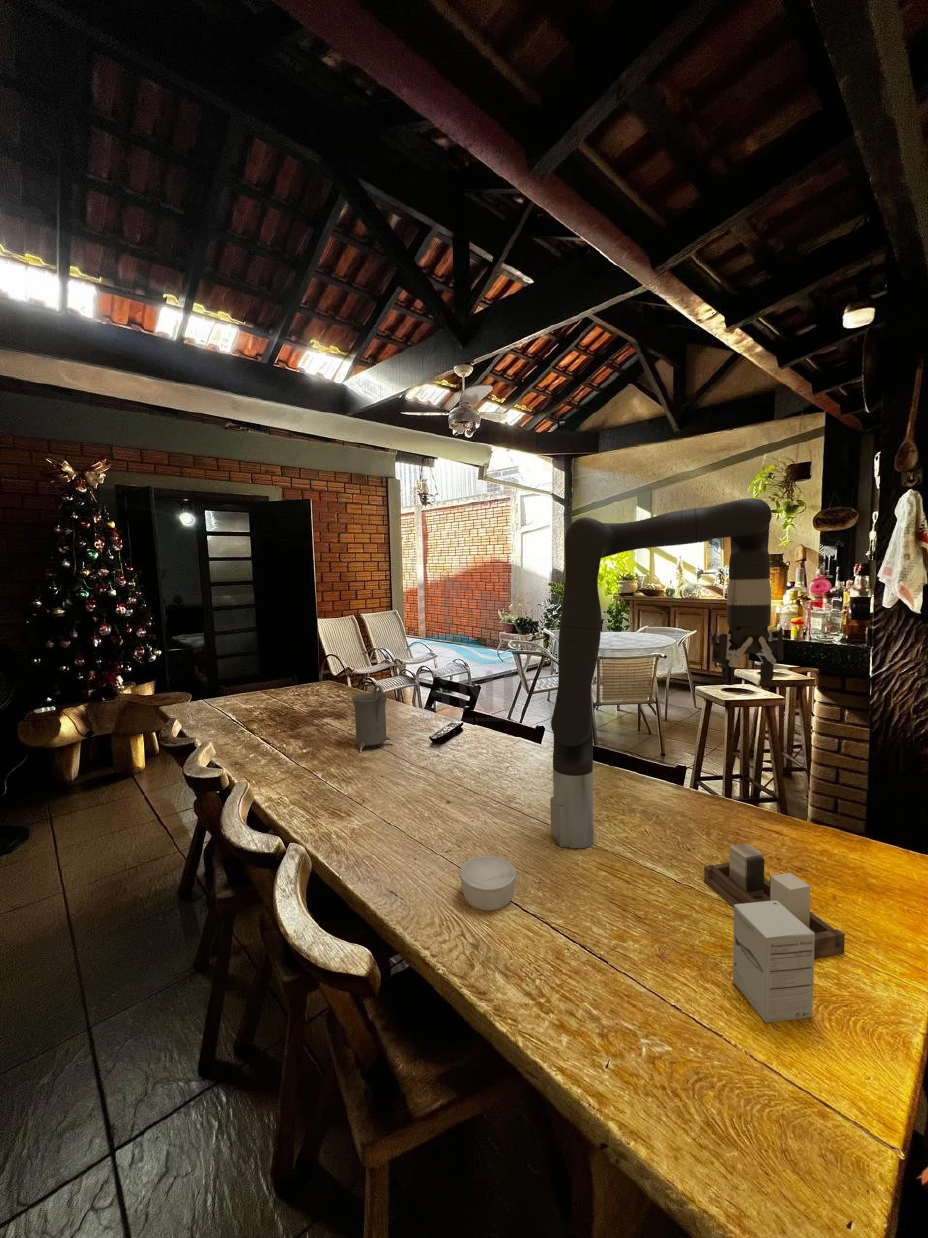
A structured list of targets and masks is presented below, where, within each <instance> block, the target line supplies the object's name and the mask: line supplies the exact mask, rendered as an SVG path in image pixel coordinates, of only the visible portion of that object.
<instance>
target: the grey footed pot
mask: <svg viewBox="0 0 928 1238" xmlns="http://www.w3.org/2000/svg"><path fill="white" fill-rule="evenodd" d="M377 689H378V690H379V692H377ZM388 697H389V696H388V695H387V694H385V693H384V690H383V688H382V687H381V685H379V684H376V685H375V686H374V688H373V692H367V693H360V694H355V695H353V696H351V701H352V703H353V705H354V721H355V724H354V725H355V742H356V744H358V745H359V747H364V746H365V747H366V746H376V745H381V744H383V743H385V742H386V740H391V741H392V739H391V738H390V737H389V736H387V722H386V721H387V718H386V704H387V703H386V702H387V699H388ZM365 747H364V748H365Z"/></svg>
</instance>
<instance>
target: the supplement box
mask: <svg viewBox="0 0 928 1238" xmlns="http://www.w3.org/2000/svg"><path fill="white" fill-rule="evenodd" d="M732 939H733V943H732V945H733V946H732V947H733V949H732V952H733V953H732V983H733V984H734V985H735V986H736V987H737V988H738V990H739V991H740V992H741V993H742V994H743V996H744V997H745V998H746V999H747V1001H748V1002H749V1003H750V1004H751V1006H752V1008H754V1010H755V1011H756V1012H757V1013H758V1015H759V1016H760V1018H761V1019H762V1020H763V1022H764V1023H775V1022H776V1023H777V1022H784V1021H794V1020H803V1019H810V1018H813V1006H814V1001H813V1000H814V972H815V971H814V969H815V959H814V945H815V934H814V932H813V931H811V930H810V929H809V928H808V927H807V926H806V925H804V924H803V923H802V922H801V921H800V920H799V919H798V918H796V916H794V915H793V914H792V913H791V912H790V911H788V910H787V909H786V908H785V907H784V906H783V905H782V904H781V903H780V902H778V901H763V902H754V903H744V904H735V905H734V907H733V938H732Z"/></svg>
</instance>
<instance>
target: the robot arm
mask: <svg viewBox="0 0 928 1238" xmlns="http://www.w3.org/2000/svg"><path fill="white" fill-rule="evenodd" d="M772 517H773V513H772V508H771V507H770V506H769V504H768V503H767V502H766V501H764V500H763V499H760V498H756V497H752V498H751V497H750V498H749V497H748V498H741V499H736V500H732V501H728V502H723V503H719V504H715V505H712V506H704V507H703V506H702V507H696V508H695V507H694V508H687V509H682V510H675V511H670V512H667V513H666V512H665V513H662V514H658V515H655V516H652V517H648V518H645V519H641V520H636V521H630V522H628V521H627V522H612V523H611V522H602V521H599V520H597V519H595V518H592V517H580V518H578V519H576V520H574V521H572V523H570V525H569V527H568V528H567V530H566V533H565V536H564V568H565V569H564V572H565V573H564V574H565V575H564V585H563V586H564V587H563V593H562V596H563V597H562V603H561V612H560V621H559V632H558V647H557V648H558V649H557V651H558V652H557V668H558V671H557V672H558V673H557V674H558V683H557V691H556V692H557V693H556V698H555V701H554V703H555V704H554V707H553V713H552V715H551V720H550V727H551V730H552V734H553V751H552V752H553V754H552V782H553V783H552V785H553V786H552V787H553V788H552V789H553V790H552V795H553V796H550V801H549V802H550V835H551V837H552V836H553V837H554V838H553V837H552V838H553V840H554V839H555V840H556V841H555V840H554V841H555V842H556V844H557V843H558V844H559V845H558V844H557V845H558V846H559V848H568V847H569V849H575V848H578V849H585V848H588V847H590V846H591V845H593V843H594V841H593V840H594V839H595V838H594V837H595V836H594V834H595V833H594V831H595V830H594V785H593V784H594V771H593V770H594V767H593V766H594V765H593V764H594V744H593V743H594V742H593V741H594V734H593V733H594V729H593V728H594V724H593V723H594V722H593V713H592V711H591V709H592V708H591V705H592V704H591V702H592V701H591V693H592V684H593V679H594V675H595V671H596V666H597V661H598V657H599V651H600V644H601V636H602V635H601V634H602V620H603V619H602V608H601V601H600V596H599V586H598V585H599V583H598V582H599V573H600V566H601V560H602V559H603V558H607V557H611V556H614V555H616V554H620V553H624V552H630V551H635V550H641V549H649V548H658V547H660V548H661V547H672V546H682V545H689V544H697V543H705V542H708V541H712V540H714V539H724V538H729V539H730V554H729V559H728V560H729V561H728V585H727V592H726V594H727V595H726V599H727V600H726V625H727V626H728V632H727V633H724V632H723V633H722V632H714V633H713V638H712V639H713V640H712V653H711V654H712V657H711V658H712V659H711V660H712V662H713V663H716V664H718V665H720V666H721V681H722V683H723V684H724V685H726V686H734V685H735V664H736V662H737V661H738V660H739V659H740V658H742V657H743V655H750V654H755V655H756V656H757V657H758V658H759V659H760V661H761V663H760V669H759V670H760V674H759V675H760V677H759V679H760V681H761V682H762V683H765V684H769V683H772V682H773V679H774V667H775V666H774V665H775V664H776V662H778V661H784V659H785V658H784V656H785V655H784V633H783V631H782V630H778V629H769V630H768V628H769V627H770V626H771V621H772V616H771V615H772V587H771V557H770V551H769V542H770V541H769V539H770V523H771V521H772ZM767 642H768V643H767Z"/></svg>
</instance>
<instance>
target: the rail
mask: <svg viewBox="0 0 928 1238" xmlns="http://www.w3.org/2000/svg"><path fill="white" fill-rule="evenodd" d="M703 868H704V871H703V872H704V874H703V875H704V876H703V879H704V880H703V882H704V883H705V884H706V885H708V887H709V888H711V889H712V890H713V891H714V892H716V894H717V895H719V896H720V897H721V898H722V899H724V901H726V902H727V903H728V904H730V906H731V907H733V908H734V905H735V904H744V903H754V902H763V901H769V895H770V880H768V879H767V878H765V855H764V853H762V852H761V851H760V850H758V849H756V848H755V847H753V846H752V845H750V844H749V843H743V844H737V845H730V846H729V862H723V863H718V864H712V865H711V864H710V865H705V866H704V867H703ZM809 929H810V930H811V931H813V932H814V934H815V945H814V960H815V959H820V958H825V957H829V956H834V955H838V954H844V953H845V944H846V943H845V942H846V941H845V938H846V937H845V935H846V934H845V933H844V932H843V931H841V929H839V928H836V929H835V928H834V927H832V926H831V925H829V924H828V923H827V922H825V921H824V920H823V919H821V918H820V917H819V916H817V915H816V914H815V913H813V912H812V911H810V924H809Z"/></svg>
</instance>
